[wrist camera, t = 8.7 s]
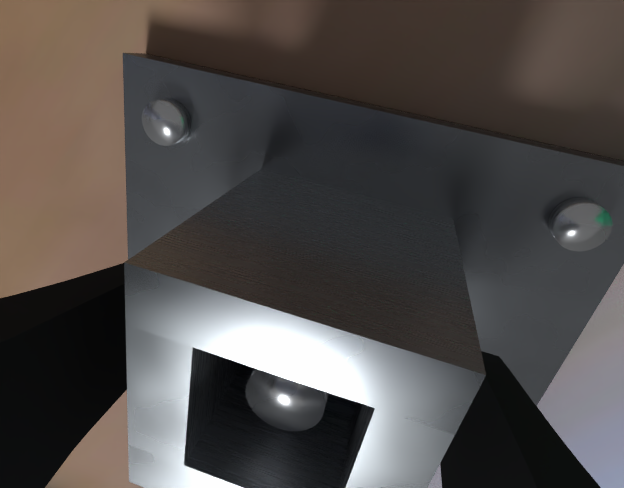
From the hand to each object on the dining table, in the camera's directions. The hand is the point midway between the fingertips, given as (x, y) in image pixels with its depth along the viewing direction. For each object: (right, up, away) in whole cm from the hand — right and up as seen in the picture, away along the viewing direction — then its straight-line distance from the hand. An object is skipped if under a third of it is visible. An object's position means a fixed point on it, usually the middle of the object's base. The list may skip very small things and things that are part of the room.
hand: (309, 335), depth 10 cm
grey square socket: (+1, +1, +2) cm, 3 cm away
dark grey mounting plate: (+1, +2, +3) cm, 4 cm away
